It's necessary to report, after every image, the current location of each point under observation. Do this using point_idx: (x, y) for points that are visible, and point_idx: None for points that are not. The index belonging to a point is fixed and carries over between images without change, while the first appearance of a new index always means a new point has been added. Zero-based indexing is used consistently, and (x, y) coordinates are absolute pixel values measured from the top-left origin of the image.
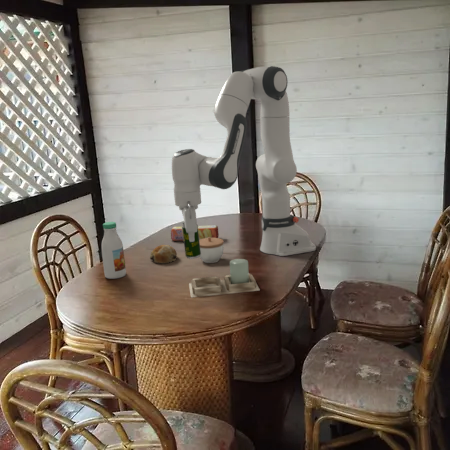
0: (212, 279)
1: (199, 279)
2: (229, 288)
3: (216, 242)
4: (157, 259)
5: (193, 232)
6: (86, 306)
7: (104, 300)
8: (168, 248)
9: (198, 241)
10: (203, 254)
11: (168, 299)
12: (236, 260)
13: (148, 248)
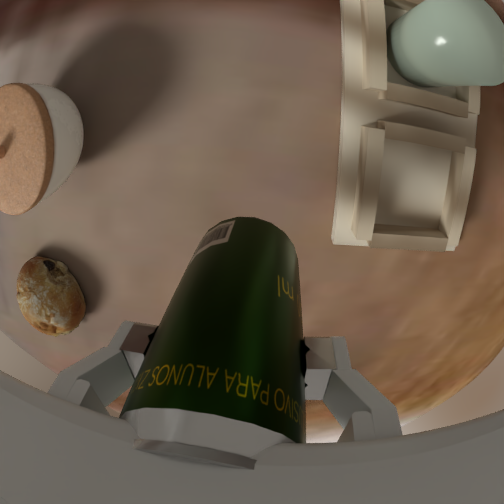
0: (381, 153)
1: (375, 213)
2: (473, 113)
3: (17, 115)
4: (80, 319)
5: (391, 413)
6: (343, 430)
7: (329, 415)
8: (39, 301)
9: (269, 281)
10: (68, 170)
11: (404, 305)
12: (453, 32)
13: (4, 310)
